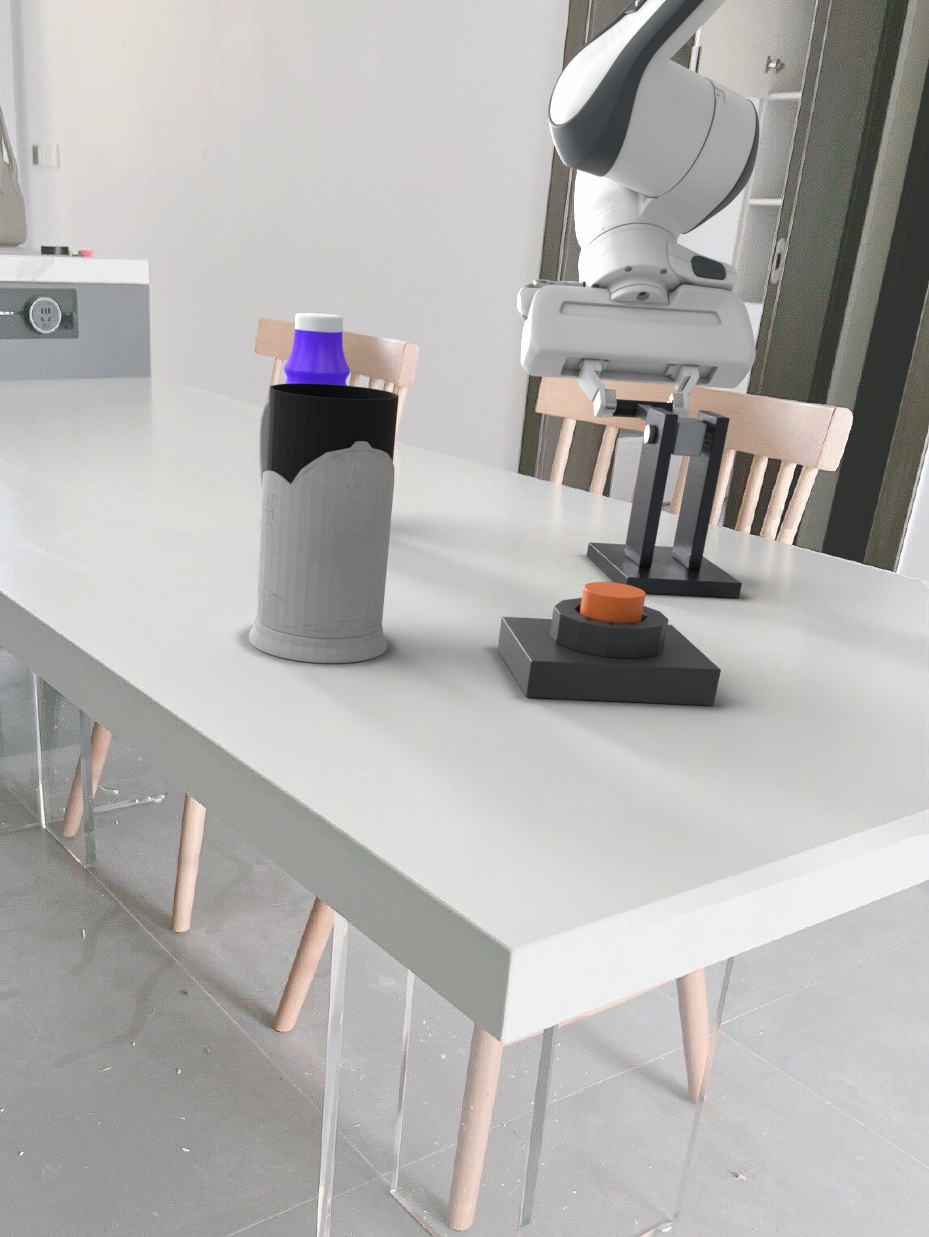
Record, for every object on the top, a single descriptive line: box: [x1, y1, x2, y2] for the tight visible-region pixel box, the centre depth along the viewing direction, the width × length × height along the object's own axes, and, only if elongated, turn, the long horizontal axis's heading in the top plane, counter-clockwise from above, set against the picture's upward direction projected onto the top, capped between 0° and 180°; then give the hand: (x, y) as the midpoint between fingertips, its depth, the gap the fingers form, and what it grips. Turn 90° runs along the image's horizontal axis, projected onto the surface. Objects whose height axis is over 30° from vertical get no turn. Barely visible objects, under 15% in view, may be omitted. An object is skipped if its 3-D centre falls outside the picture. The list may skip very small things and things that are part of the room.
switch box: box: [497, 597, 722, 706], centre depth 73 cm, size 11×9×4 cm
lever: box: [611, 398, 707, 457], centre depth 99 cm, size 14×5×2 cm, turn 3°
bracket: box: [586, 407, 743, 599], centre depth 96 cm, size 12×9×13 cm
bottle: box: [283, 312, 351, 386], centre depth 106 cm, size 7×6×17 cm
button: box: [580, 581, 647, 623], centre depth 72 cm, size 4×4×2 cm
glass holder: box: [248, 383, 399, 664], centre depth 76 cm, size 9×14×15 cm, turn 26°
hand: (642, 415), depth 105 cm, fingers closed on lever, 5 cm apart
